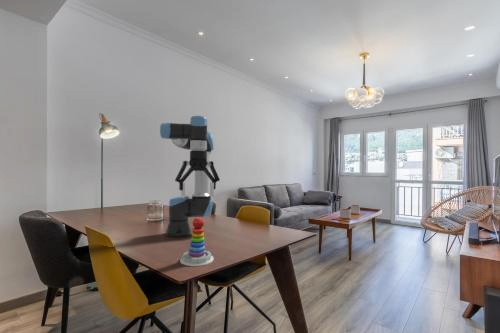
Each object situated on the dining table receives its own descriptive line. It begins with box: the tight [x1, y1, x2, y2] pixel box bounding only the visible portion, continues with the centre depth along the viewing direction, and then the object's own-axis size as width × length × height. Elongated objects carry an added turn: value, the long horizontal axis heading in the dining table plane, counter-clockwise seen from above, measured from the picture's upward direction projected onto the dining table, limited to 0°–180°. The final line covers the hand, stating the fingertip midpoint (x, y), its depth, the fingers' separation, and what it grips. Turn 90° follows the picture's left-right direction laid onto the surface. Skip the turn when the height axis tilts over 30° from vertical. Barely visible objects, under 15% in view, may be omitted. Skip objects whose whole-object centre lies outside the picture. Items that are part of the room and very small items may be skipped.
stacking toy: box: [188, 217, 206, 258], centre depth 121 cm, size 8×8×19 cm
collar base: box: [179, 250, 215, 267], centre depth 121 cm, size 15×15×3 cm
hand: (197, 197), depth 120 cm, fingers open, 13 cm apart
